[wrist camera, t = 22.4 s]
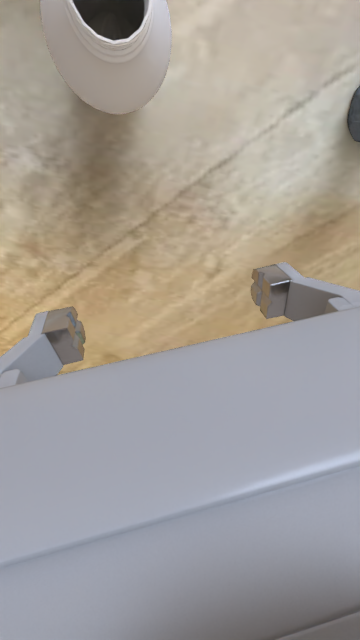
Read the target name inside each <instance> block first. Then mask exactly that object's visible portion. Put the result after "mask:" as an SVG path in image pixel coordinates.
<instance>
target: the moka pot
mask: <svg viewBox="0 0 360 640" xmlns="http://www.w3.org/2000/svg"><path fill="white" fill-rule="evenodd" d="M348 125H349V130H350V133H351V135H352V137H353V139H354V140H355V141H358V142H360V87H359V88H358V89H357V91H356V93H355V96H354V98H353V100H352V103H351V107H350V110H349V115H348Z"/></svg>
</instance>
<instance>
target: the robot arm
mask: <svg viewBox="0 0 360 640" xmlns="http://www.w3.org/2000/svg"><path fill="white" fill-rule="evenodd" d="M252 279H253V280H254V283H253V284H252V285H251V296H252V299H253V301H254V303H255V304H256V305H258V306H260V311H261V312H262V314H263V315H264V316H265V318H266V319H268V318H273V317H278V316H283V315H284V316H285V317H287V318H289V319H291V320H293V322H289V323H284V324H280V325H275V326H271V327H267V328H262V329H258V330H254V331H249V332H245V333H240V334H236V335H232V336H227V337H223V338H218V339H214V340H210V341H205V342H201V343H197V344H192V345H188V346H183V347H179V348H175V349H170V350H166V351H161V352H157V353H153V354H148V355H144V356H139V357H135V358H131V359H126V360H122V361H118V362H113V363H109V364H104V365H100V366H96V367H91V368H87V369H82V370H78V371H74V372H69V373H65V374H61V375H57V374H58V373H59V371H60V370H61V369H62V367H63V365H65V364H69V363H73V362H77V361H81V360H83V358H84V347H83V344H84V343H85V339H86V337H85V330H84V327H83V325H82V322H80V321H79V320H77V316H78V313H77V311H76V309H75V308H74V307H73V306H72V307H67V308H62V309H56V310H51V311H45V312H41V313H37V314H36V315H35V318H34V321H33V323H32V326H31V329H30V331H29V334H28V337H26V338H23V339H22V340H21V341H19V342H18V343H17V344H16V345H14V346H13V347H12V348H11V349H10V350H8V351H7V352H6V353H5V354H3V355H2V356H1V357H0V640H360V291H358V290H354V289H351V288H347V287H343V286H339V285H335V284H332V283H328V282H324V281H320V280H316V279H313V278H309V277H307V278H304V277H303V276H302V275H301V274H300V273H298V272H297V271H296V270H295V269H294V268H293V267H291V266H290V265H289V264H288V263H286V262H282V263H278V264H274V265H270V266H266V267H262V268H257V269H253V271H252Z"/></svg>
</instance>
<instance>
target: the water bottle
mask: <svg viewBox="0 0 360 640" xmlns="http://www.w3.org/2000/svg"><path fill="white" fill-rule="evenodd" d="M40 13H41V20H42V28H43V32H44V36H45V40H46V43H47V47H48V49H49V52H50V54H51V57H52V59H53V61H54V63H55V65H56V67H57V69H58V71H59V73H60V74H61V76H62V77H63V79H64V80H65V82H66V83H67V84H68V86H69V87H70V88H71V89H72V90H73V92H74V93H75V94H76V95H77V96H79V97H80V98H81V99H82V100H83V101H84V102H86V103H87V104H89V105H90V106H92V107H94V108H95V109H98V110H100V111H103V112H106V113H111V114H126V113H130V112H134V111H136V110H138V109H140V108H142V107H143V106H144V105H146V104H147V103H148V102H149V101H150V100H151V99H152V98H153V97H154V95H155V94H156V93H157V92H158V90H159V88H160V86H161V84H162V82H163V80H164V78H165V75H166V72H167V69H168V65H169V61H170V54H171V41H172V31H171V22H170V14H169V10H168V6H167V1H166V0H40Z"/></svg>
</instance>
